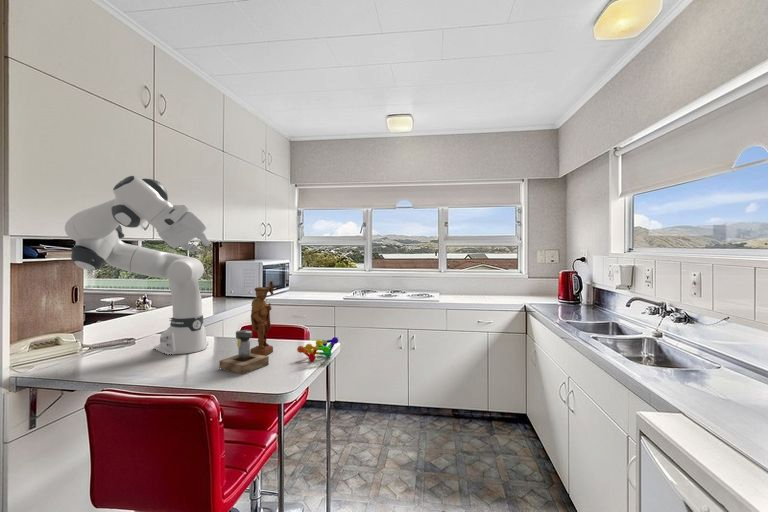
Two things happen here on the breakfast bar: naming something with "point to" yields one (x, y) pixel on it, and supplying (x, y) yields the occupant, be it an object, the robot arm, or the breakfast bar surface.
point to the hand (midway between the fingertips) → (201, 248)
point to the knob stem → (243, 344)
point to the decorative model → (318, 348)
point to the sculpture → (261, 319)
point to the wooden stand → (244, 363)
